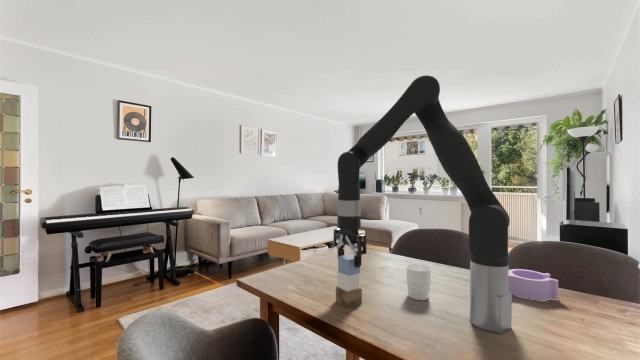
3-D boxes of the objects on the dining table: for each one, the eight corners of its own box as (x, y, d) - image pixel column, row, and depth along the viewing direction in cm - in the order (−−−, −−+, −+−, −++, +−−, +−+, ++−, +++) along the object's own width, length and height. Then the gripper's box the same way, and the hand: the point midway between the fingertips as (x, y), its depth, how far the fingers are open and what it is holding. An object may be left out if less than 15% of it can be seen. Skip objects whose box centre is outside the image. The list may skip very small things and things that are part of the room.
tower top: (359, 288, 95) (359, 272, 95) (347, 291, 92) (347, 275, 92) (349, 283, 99) (349, 268, 99) (337, 286, 97) (337, 271, 97)
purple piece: (491, 296, 102) (491, 276, 101) (484, 283, 113) (484, 265, 113) (561, 304, 95) (562, 283, 95) (546, 290, 107) (546, 271, 107)
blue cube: (360, 272, 95) (360, 257, 95) (348, 275, 92) (348, 260, 92) (349, 268, 99) (349, 254, 99) (338, 271, 97) (338, 256, 96)
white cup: (414, 302, 96) (414, 271, 96) (401, 293, 104) (402, 264, 104) (435, 299, 98) (435, 269, 98) (421, 290, 106) (421, 263, 106)
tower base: (361, 303, 95) (361, 288, 95) (347, 308, 92) (347, 292, 92) (349, 297, 100) (349, 282, 100) (335, 301, 97) (335, 286, 97)
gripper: (372, 215, 92) (372, 267, 92) (344, 211, 104) (344, 257, 104) (353, 217, 88) (353, 271, 88) (327, 212, 100) (327, 260, 100)
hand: (348, 263), depth 96 cm, fingers open, 8 cm apart
